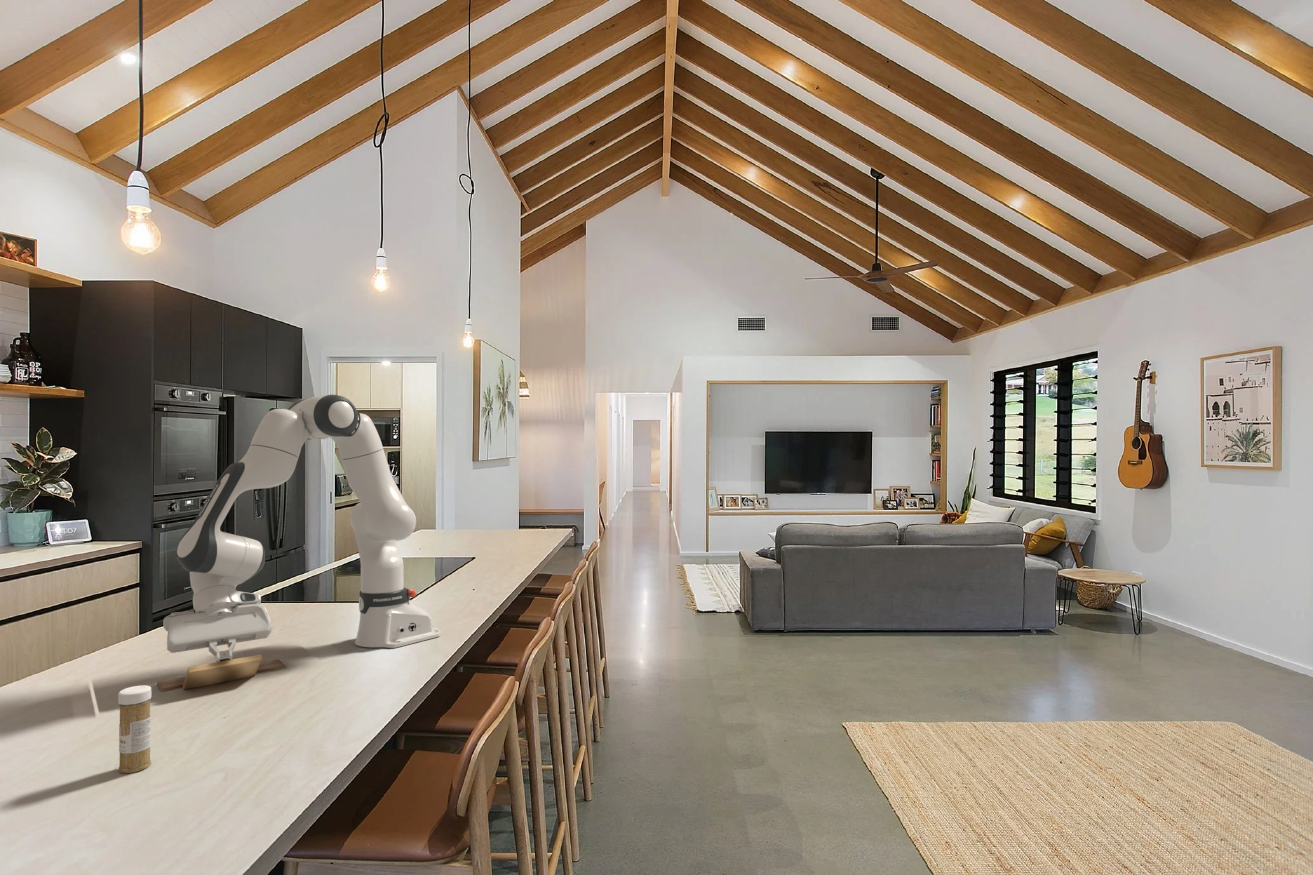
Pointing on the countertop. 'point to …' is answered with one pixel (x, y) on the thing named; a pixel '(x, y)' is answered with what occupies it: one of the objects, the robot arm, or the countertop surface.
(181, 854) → the countertop surface
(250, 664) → the oak plank
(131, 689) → the spice jar
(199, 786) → the countertop surface
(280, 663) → the walnut floorboard
